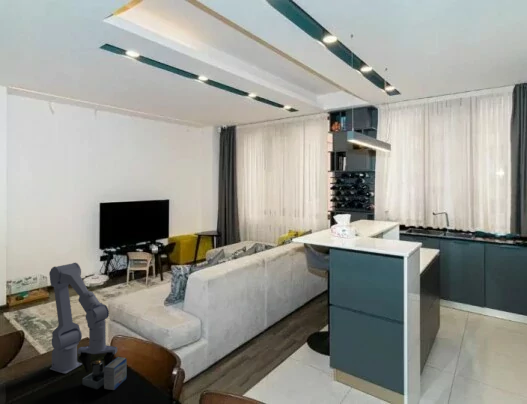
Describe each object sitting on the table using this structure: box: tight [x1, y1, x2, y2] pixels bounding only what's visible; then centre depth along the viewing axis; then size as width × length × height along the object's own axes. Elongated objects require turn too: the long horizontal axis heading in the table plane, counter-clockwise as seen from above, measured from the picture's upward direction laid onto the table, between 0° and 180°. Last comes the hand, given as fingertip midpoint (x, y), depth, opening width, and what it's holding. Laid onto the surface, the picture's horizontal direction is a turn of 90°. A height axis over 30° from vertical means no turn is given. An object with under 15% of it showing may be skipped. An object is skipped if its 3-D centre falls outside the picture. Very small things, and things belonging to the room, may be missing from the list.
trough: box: [82, 372, 104, 390], centre depth 127 cm, size 8×8×2 cm
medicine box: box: [103, 356, 128, 391], centre depth 126 cm, size 8×4×9 cm, turn 168°
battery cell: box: [91, 359, 105, 382], centre depth 127 cm, size 4×4×8 cm
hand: (97, 371), depth 127 cm, fingers open, 7 cm apart
